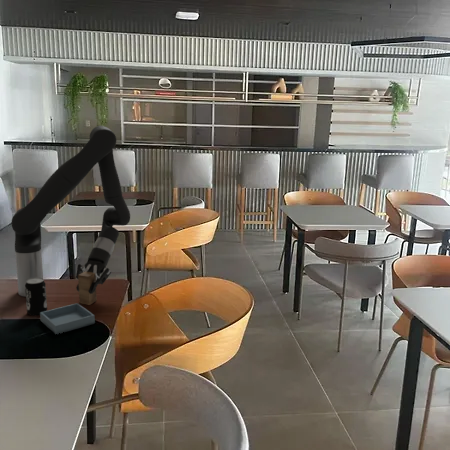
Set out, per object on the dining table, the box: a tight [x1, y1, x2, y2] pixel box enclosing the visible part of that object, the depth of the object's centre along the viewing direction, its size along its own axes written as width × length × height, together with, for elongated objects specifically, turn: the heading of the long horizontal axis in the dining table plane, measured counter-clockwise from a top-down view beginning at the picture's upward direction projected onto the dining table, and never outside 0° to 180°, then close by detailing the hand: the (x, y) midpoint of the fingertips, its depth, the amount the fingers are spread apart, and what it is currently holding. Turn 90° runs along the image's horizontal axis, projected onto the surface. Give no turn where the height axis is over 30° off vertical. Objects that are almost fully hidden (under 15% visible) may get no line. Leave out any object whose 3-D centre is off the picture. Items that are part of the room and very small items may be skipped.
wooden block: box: [77, 271, 98, 306], centre depth 172 cm, size 4×4×11 cm
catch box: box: [39, 302, 96, 335], centre depth 156 cm, size 13×13×3 cm
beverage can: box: [25, 277, 48, 317], centre depth 162 cm, size 7×7×12 cm
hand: (84, 291), depth 171 cm, fingers closed on wooden block, 4 cm apart
